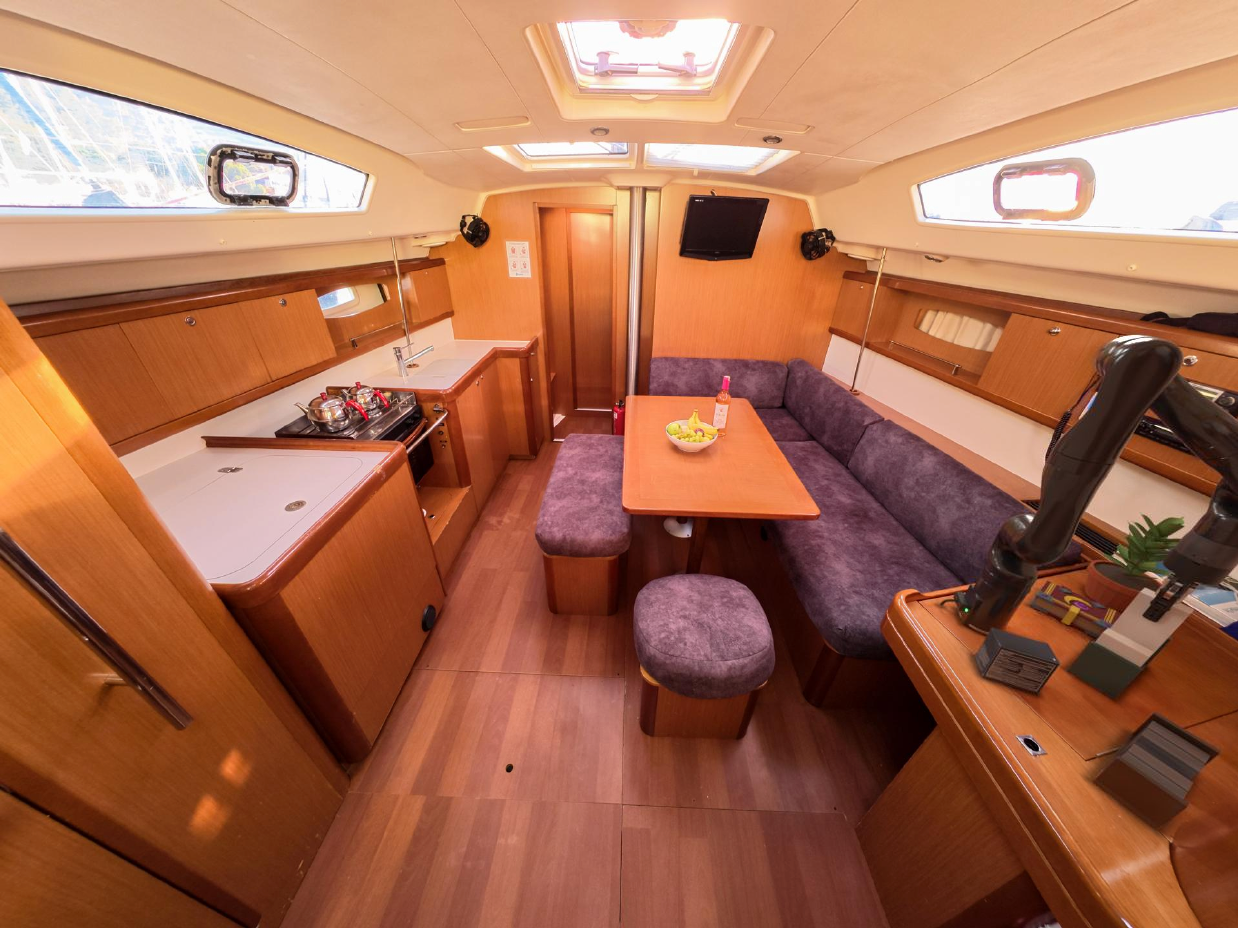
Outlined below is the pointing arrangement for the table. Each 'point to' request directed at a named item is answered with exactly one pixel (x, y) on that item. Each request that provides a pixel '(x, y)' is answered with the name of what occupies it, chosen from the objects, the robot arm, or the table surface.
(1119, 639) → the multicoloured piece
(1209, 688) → the table surface
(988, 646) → the small box
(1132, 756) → the grey book rack
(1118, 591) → the potted plant
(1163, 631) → the white book
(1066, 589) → the decorative book
